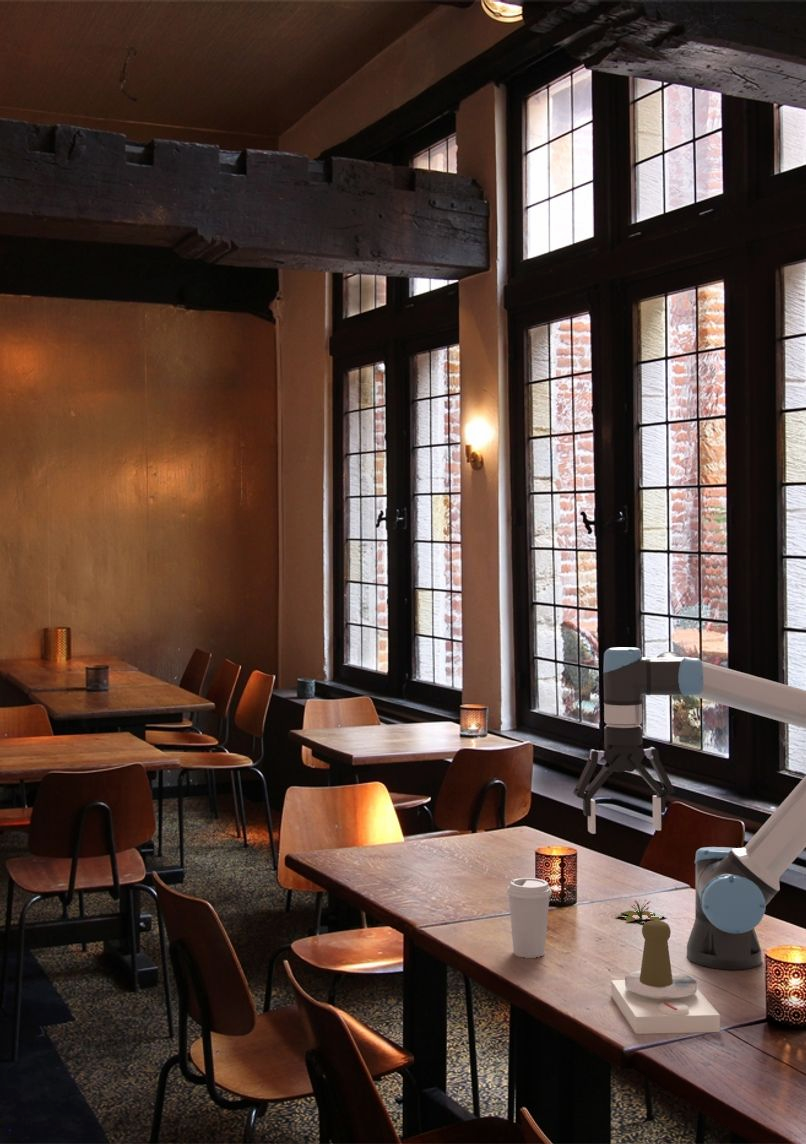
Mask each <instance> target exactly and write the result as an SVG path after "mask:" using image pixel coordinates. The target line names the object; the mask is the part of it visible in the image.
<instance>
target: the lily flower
mask: <svg viewBox="0 0 806 1144" xmlns="http://www.w3.org/2000/svg"><path fill="white" fill-rule="evenodd" d="M639 901H640V898H639ZM646 901H647V899H645V900H644V902H643V903H642V905H641V904H640V903H639V902H638V901H637V899H635V900H634V901H633V902H634V903H635V904H636V905H635V904H634V903H633V904H632V905H631V906H630V907H631V908H633V909H634V910H627V911H623V912H622V914H619V915H617V916H616V918H618V917H622V916H625V915H628V916H627V917H626V918H624V919H626V920H625V921H626V922H627V923H630V922H633V921H635V920H638V921H636V922H638V923H640V924H642V925H644V924H643V923H644V922H643V919H644V918H643V917H642V915H647V916H648V918H650V919H649V920H650V921H652V920H657V921H662V920H661V919H662V918H659V917H651V916H653V915H656V912H651V911H648V909H650V906H647V905H649V904H650V903H651V901H648V902H647V903H645V902H646ZM636 906H637V907H636ZM646 906H647V907H646ZM636 910H637V911H636ZM634 911H636V912H634ZM638 911H639V912H638ZM624 913H625V914H624ZM650 913H653V914H650ZM633 915H638V916H639V917H640V918H639V917H638V918H636V919H635V918H633V917H632V916H633ZM640 920H641V922H639V921H640ZM642 922H643V923H642Z"/></svg>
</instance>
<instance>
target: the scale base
mask: <svg viewBox="0 0 806 1144" xmlns="http://www.w3.org/2000/svg"><path fill="white" fill-rule="evenodd" d="M610 983H611V985H610V989H611V991H610V993H611V994H610V996H611V998H612V999H613V1001H614V1003H615V1004H616V1006H617V1007H618V1009H619V1011H621V1013H622V1015H623V1017H624V1018H625V1019H626V1021H627V1022H628V1024H629V1025H630V1027H631V1028H632V1030H633V1032H634V1033H635V1034H636V1035H650V1034H651V1035H652V1034H686V1033H687V1034H689V1033H693V1034H694V1033H695V1034H696V1033H721V1014H720V1013H719V1012H718V1011H717V1009H715V1008H714V1006H713V1005H712V1004H711V1003H710V1002H709V1001H708V999H707V998H706V997H705V996H704V994H702V993H701V991H700V990H699V989H698V988H697V991H696V993H695V994H694V995H693V996H691V997H688V998H684V999H677V1000H658V999H651V998H645V997H641V996H638V995H635V994H633V993H631V992H629V991H628V990H627V989H626V988H625V979H612V980H611V981H610Z"/></svg>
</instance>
